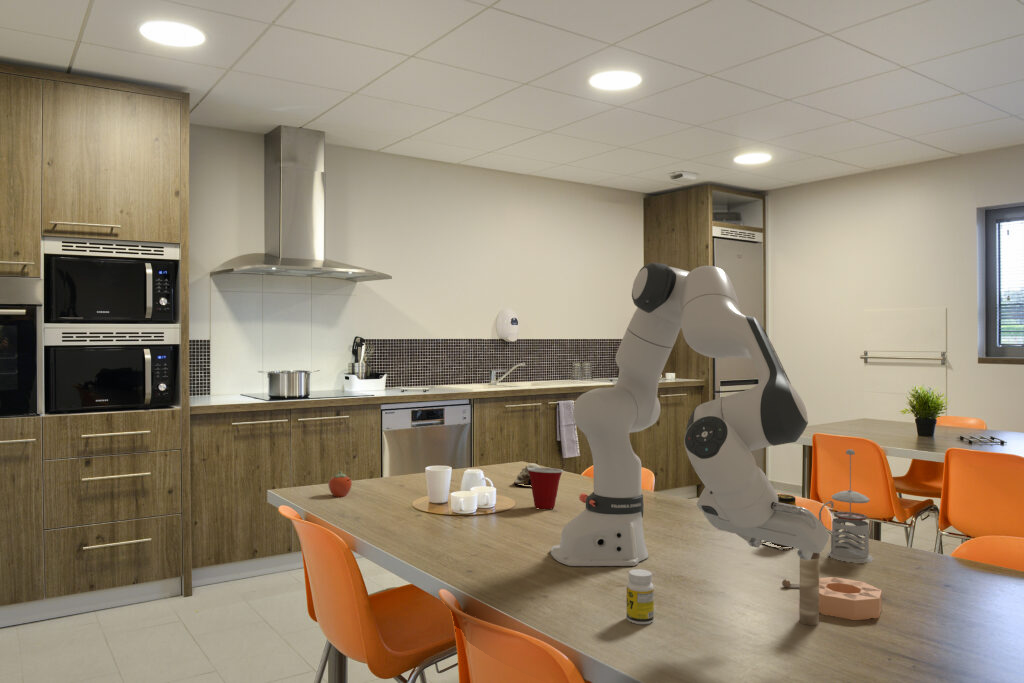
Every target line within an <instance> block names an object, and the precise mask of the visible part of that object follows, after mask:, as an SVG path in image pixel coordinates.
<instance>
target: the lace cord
mask: <svg viewBox="0 0 1024 683" xmlns="http://www.w3.org/2000/svg"><path fill="white" fill-rule="evenodd" d="M781 585H782V586H783V587H784V588H792V589H793V588H795V589H797V588H798V589H800V583H791V581H790V580H789V579H786V578H785V579H783V580H782V582H781Z"/></svg>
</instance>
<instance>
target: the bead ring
mask: <svg viewBox="0 0 1024 683" xmlns="http://www.w3.org/2000/svg"><path fill="white" fill-rule="evenodd" d="M882 609H883V591H882V590H881V589H879V588H878V587H875V586H873V585H871V584H868V583H866V582H865V581H861V580H855V579H854V580H853V579H848V578H842V577H836V576H835V577H834V576H831V577H830V576H829V577H827V576H826V577H819V614H822V615H824V616H829V615H830V617H834V616H835V618H840V619H845V620H846V619H847V620H851V621H860V620H861V621H862V620H871V619H870V618H874V619H880V617H881V614H880V613H882V611H883V610H882ZM879 616H880V617H879Z"/></svg>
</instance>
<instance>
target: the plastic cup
mask: <svg viewBox="0 0 1024 683" xmlns="http://www.w3.org/2000/svg"><path fill="white" fill-rule="evenodd" d="M527 469H528V471H529V475H530V479H531V486H532V488H531V491H532V498H533V504H534V505H533V506H534V508H535V507H536V508H539V509H551V508H554V509H555V506H556V500H557V496H558V492H559V491H558V489H559V485H560V484H559V483H560V481H561V477H562V473H563V472H564V470H563V469H561V468H554V467H542V466H540V467H533V468H527ZM536 508H535V509H536ZM539 509H538V510H539ZM551 510H552V509H551Z"/></svg>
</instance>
